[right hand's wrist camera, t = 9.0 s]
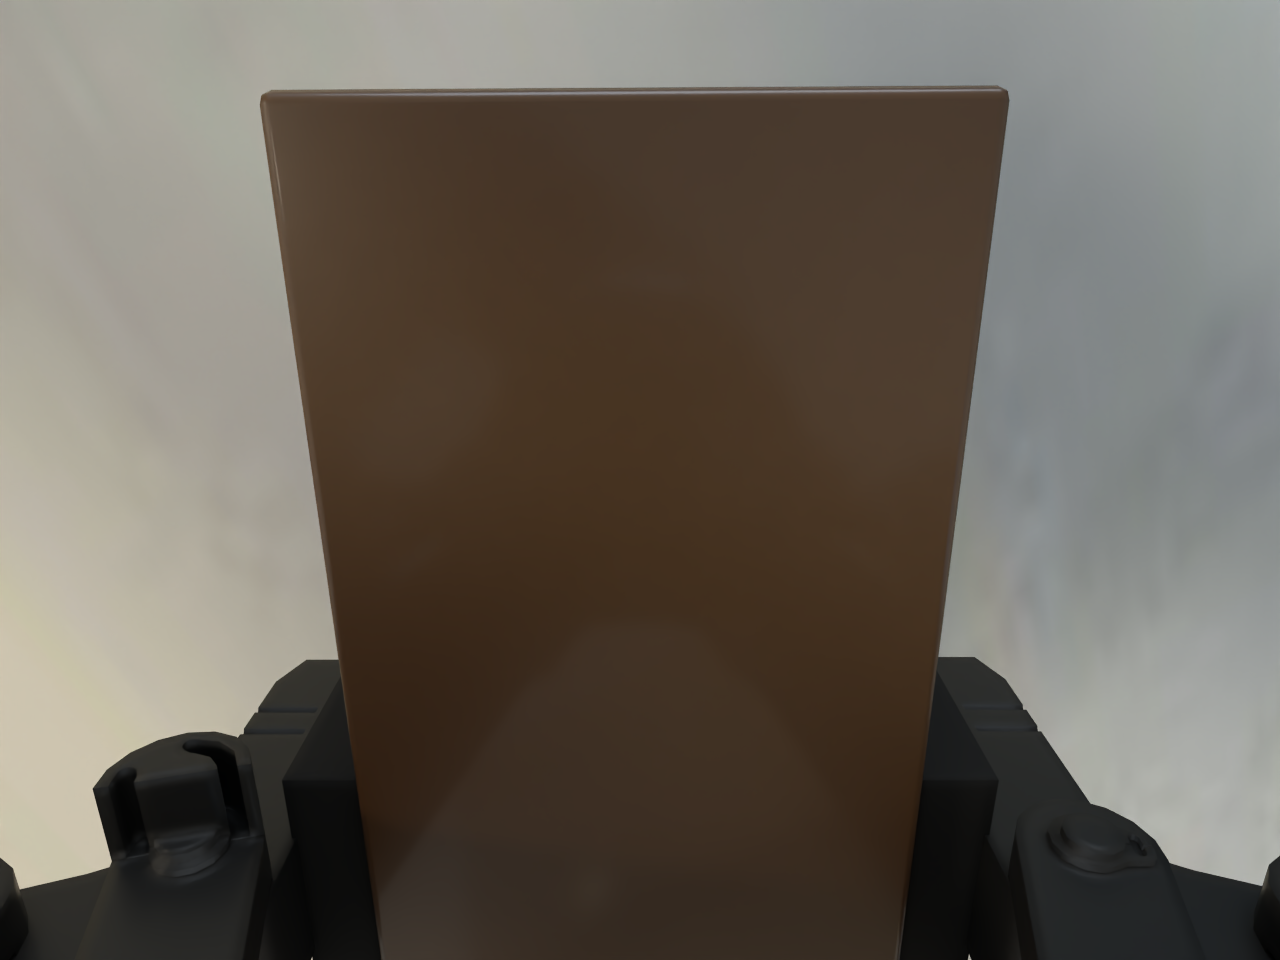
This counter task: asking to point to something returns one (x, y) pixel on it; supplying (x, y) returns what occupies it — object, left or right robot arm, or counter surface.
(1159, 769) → the counter surface
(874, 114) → the bar
